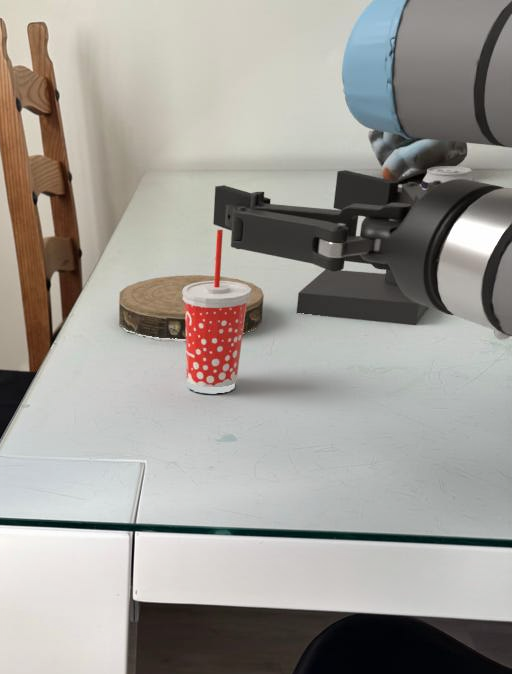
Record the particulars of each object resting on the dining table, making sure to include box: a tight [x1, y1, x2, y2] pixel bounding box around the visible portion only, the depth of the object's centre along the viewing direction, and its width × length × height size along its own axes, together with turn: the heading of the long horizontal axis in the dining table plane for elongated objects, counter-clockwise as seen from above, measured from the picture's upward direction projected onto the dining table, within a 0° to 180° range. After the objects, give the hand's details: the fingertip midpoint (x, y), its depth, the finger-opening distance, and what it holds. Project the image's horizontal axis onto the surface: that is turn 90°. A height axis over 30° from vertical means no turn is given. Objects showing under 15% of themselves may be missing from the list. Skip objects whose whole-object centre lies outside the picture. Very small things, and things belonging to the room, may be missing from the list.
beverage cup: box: [182, 229, 251, 387], centre depth 91 cm, size 6×6×14 cm
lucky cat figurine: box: [367, 129, 468, 183], centre depth 175 cm, size 15×12×14 cm
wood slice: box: [118, 274, 265, 339], centre depth 112 cm, size 16×16×3 cm
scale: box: [296, 269, 430, 326], centre depth 113 cm, size 13×12×4 cm
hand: (280, 196), depth 78 cm, fingers open, 10 cm apart
